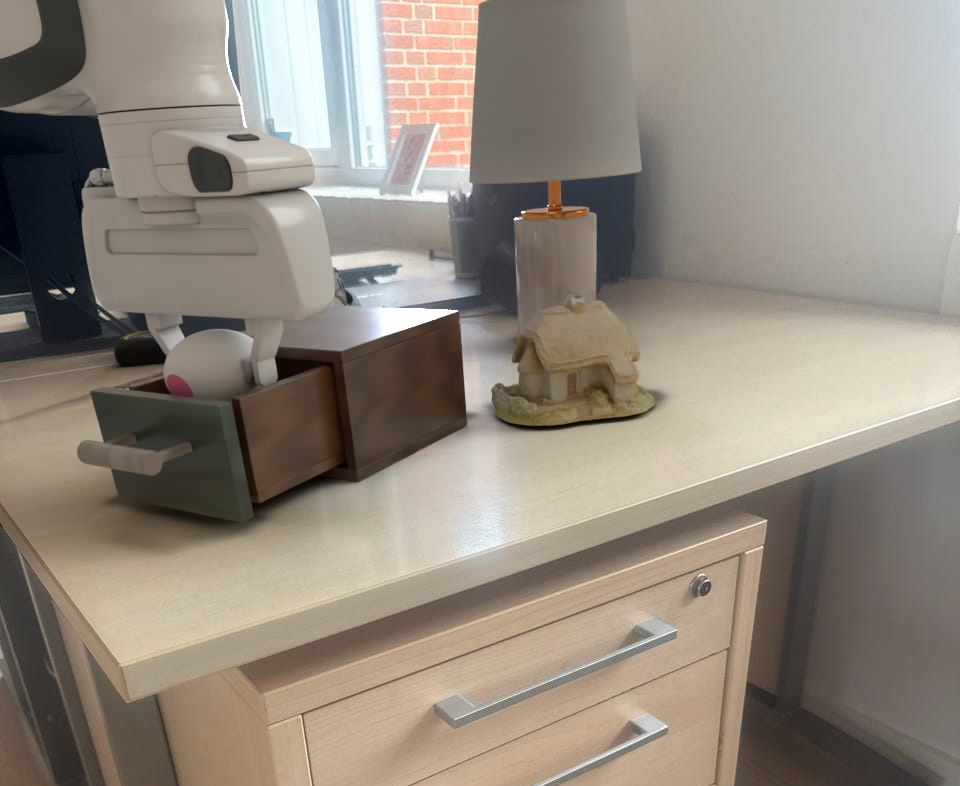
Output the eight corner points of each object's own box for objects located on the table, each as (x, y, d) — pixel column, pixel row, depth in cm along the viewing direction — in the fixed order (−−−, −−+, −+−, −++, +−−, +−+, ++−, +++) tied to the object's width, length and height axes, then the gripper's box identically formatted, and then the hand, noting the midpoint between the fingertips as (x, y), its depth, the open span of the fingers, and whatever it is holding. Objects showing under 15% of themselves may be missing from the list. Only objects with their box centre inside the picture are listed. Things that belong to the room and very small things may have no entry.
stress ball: (269, 439, 71) (241, 359, 71) (296, 396, 64) (265, 307, 64) (172, 456, 67) (143, 372, 67) (190, 413, 60) (158, 319, 60)
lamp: (639, 324, 115) (647, 0, 99) (635, 358, 99) (643, -23, 82) (493, 329, 119) (476, 16, 102) (466, 363, 103) (441, -2, 86)
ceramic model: (604, 386, 90) (604, 278, 85) (674, 410, 81) (680, 291, 76) (478, 411, 85) (470, 299, 80) (538, 440, 76) (534, 315, 71)
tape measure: (117, 375, 109) (109, 343, 107) (129, 362, 115) (121, 332, 113) (175, 369, 109) (168, 337, 107) (184, 357, 115) (177, 327, 113)
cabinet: (358, 481, 70) (340, 351, 65) (229, 461, 76) (204, 341, 71) (467, 425, 81) (459, 310, 76) (347, 411, 88) (332, 305, 83)
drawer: (194, 547, 58) (165, 425, 54) (68, 518, 64) (34, 406, 60) (373, 457, 72) (360, 355, 68) (256, 441, 78) (238, 346, 74)
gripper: (38, 172, 61) (94, 379, 68) (262, 159, 51) (301, 403, 58) (114, 166, 66) (159, 361, 72) (333, 153, 56) (361, 379, 63)
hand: (224, 380), depth 65 cm, fingers closed on stress ball, 6 cm apart
